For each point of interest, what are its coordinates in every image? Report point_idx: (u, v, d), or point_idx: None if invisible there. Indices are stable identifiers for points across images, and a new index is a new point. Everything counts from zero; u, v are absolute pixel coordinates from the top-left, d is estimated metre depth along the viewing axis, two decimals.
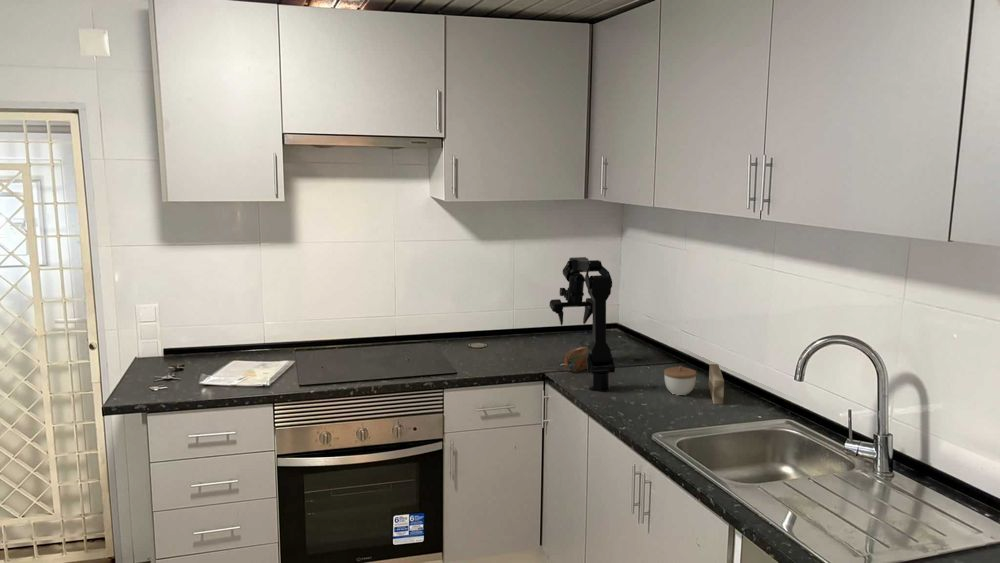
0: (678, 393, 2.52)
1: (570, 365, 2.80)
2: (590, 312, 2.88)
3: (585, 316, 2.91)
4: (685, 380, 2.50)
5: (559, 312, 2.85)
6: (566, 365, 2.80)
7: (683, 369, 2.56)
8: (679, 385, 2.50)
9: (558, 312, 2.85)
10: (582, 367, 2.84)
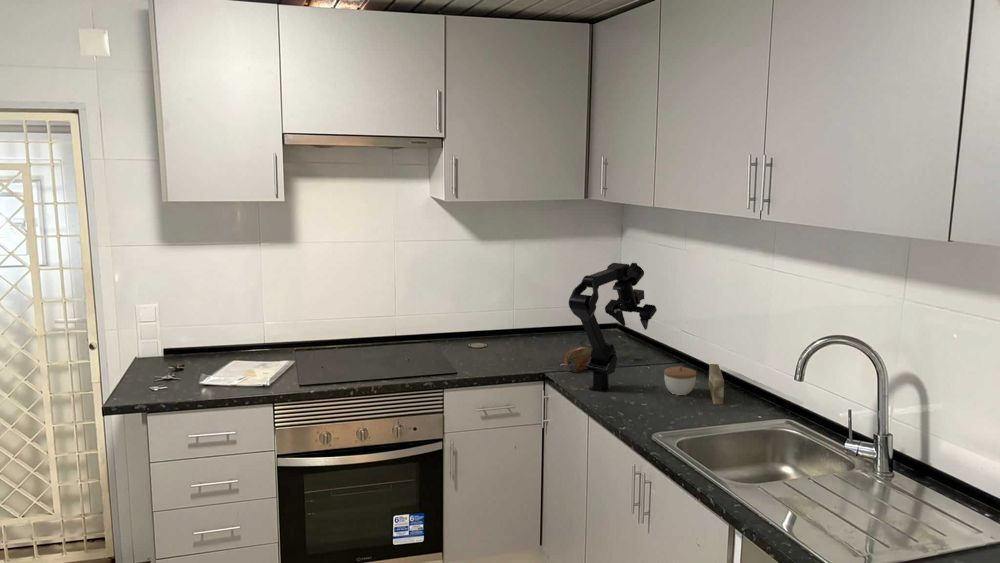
0: (678, 393, 2.52)
1: (570, 365, 2.80)
2: (642, 320, 2.67)
3: None
4: (685, 380, 2.50)
5: (611, 314, 2.75)
6: (566, 365, 2.80)
7: (683, 369, 2.56)
8: (679, 385, 2.50)
9: (610, 314, 2.75)
10: (582, 367, 2.84)
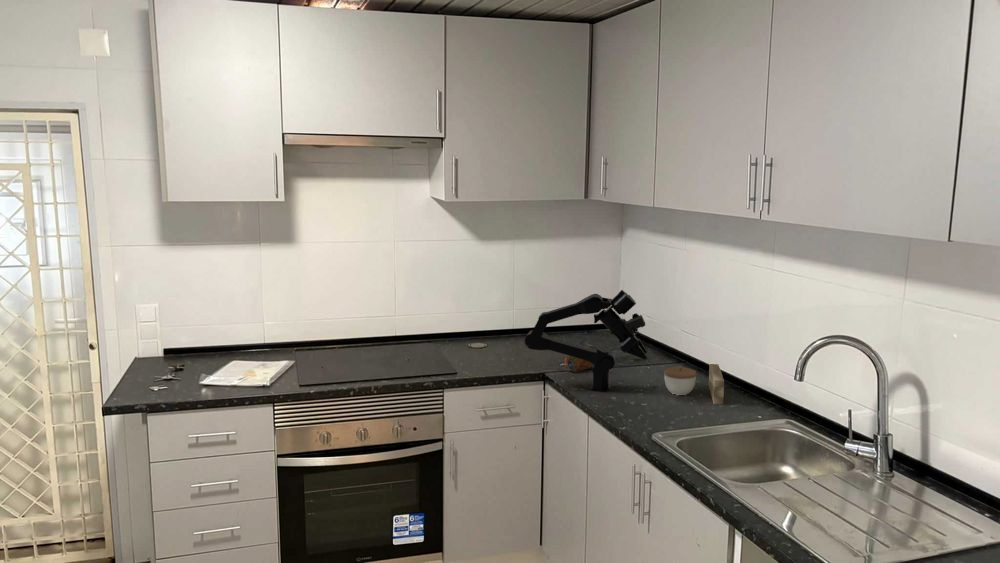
0: (678, 393, 2.52)
1: (570, 365, 2.80)
2: None
3: None
4: (685, 380, 2.50)
5: None
6: (566, 365, 2.80)
7: (683, 369, 2.56)
8: (679, 385, 2.50)
9: None
10: (582, 367, 2.84)
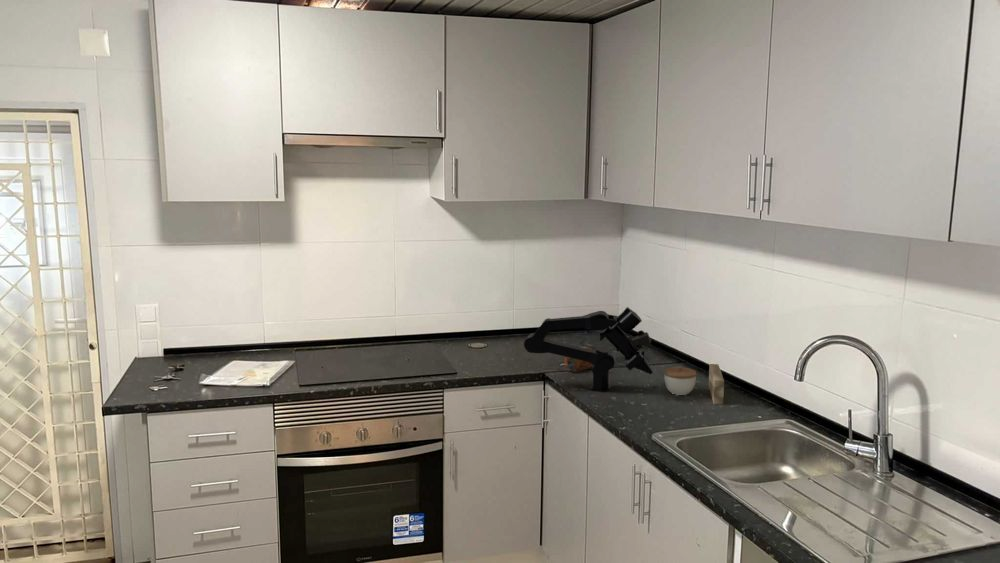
0: (678, 393, 2.52)
1: (570, 365, 2.80)
2: None
3: None
4: (685, 380, 2.50)
5: None
6: (566, 365, 2.80)
7: (683, 369, 2.56)
8: (679, 385, 2.50)
9: None
10: (582, 367, 2.84)
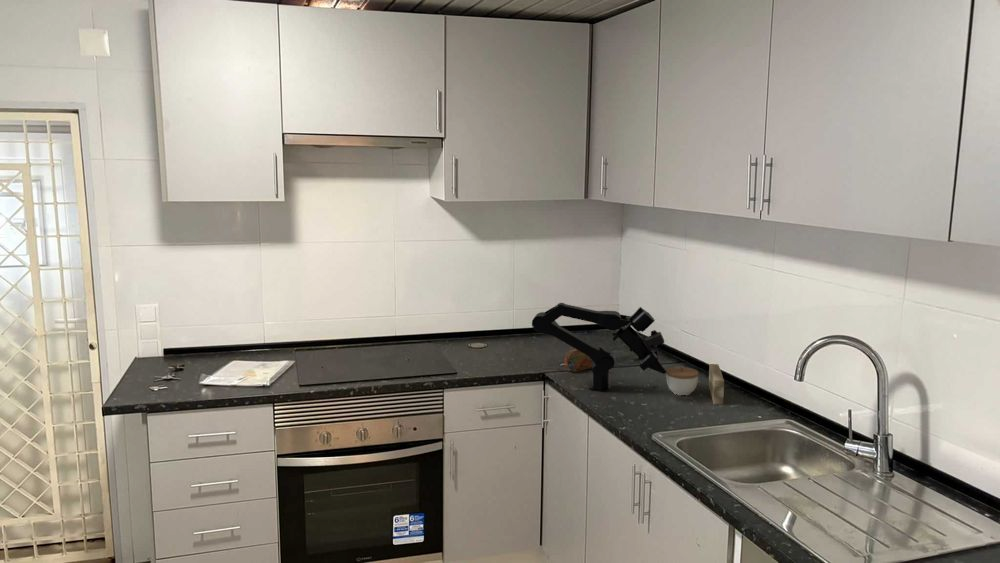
0: (680, 393, 2.52)
1: (570, 365, 2.80)
2: None
3: None
4: (687, 380, 2.50)
5: None
6: (566, 365, 2.80)
7: (686, 369, 2.56)
8: (681, 385, 2.50)
9: None
10: (582, 367, 2.84)
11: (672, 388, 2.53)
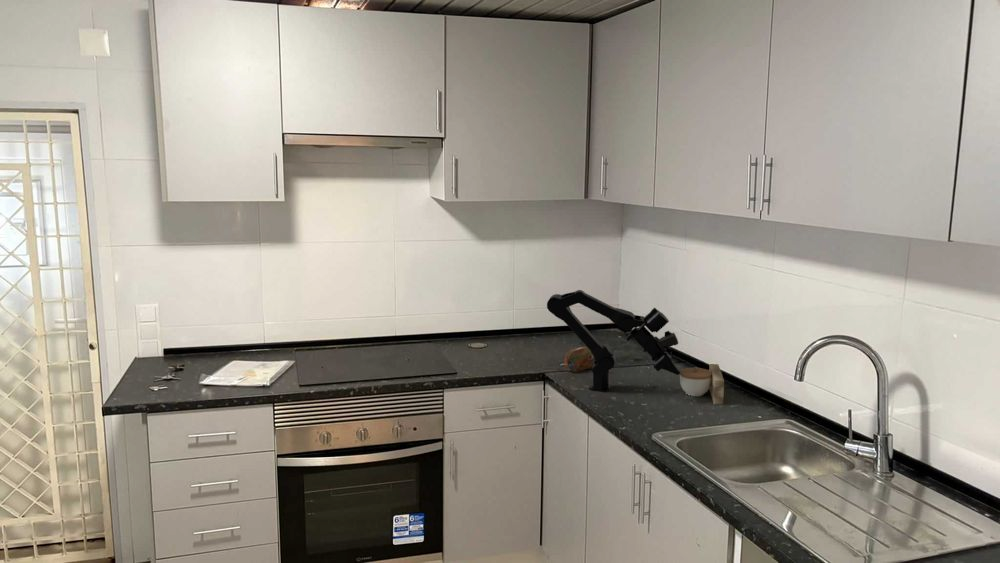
0: (694, 394, 2.51)
1: (570, 365, 2.80)
2: None
3: None
4: (701, 381, 2.49)
5: None
6: (566, 365, 2.80)
7: (699, 370, 2.55)
8: (695, 386, 2.49)
9: None
10: (582, 367, 2.84)
11: (686, 389, 2.52)
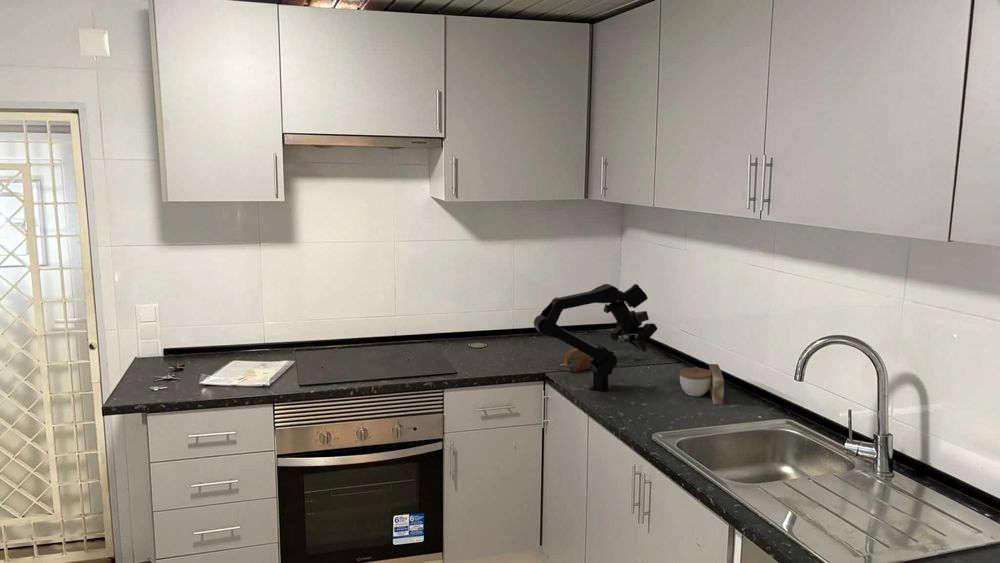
0: (694, 394, 2.51)
1: (570, 365, 2.80)
2: (634, 341, 2.58)
3: None
4: (701, 381, 2.49)
5: (625, 340, 2.61)
6: (566, 365, 2.80)
7: (699, 369, 2.55)
8: (695, 386, 2.49)
9: (625, 340, 2.61)
10: (582, 367, 2.84)
11: (685, 389, 2.52)
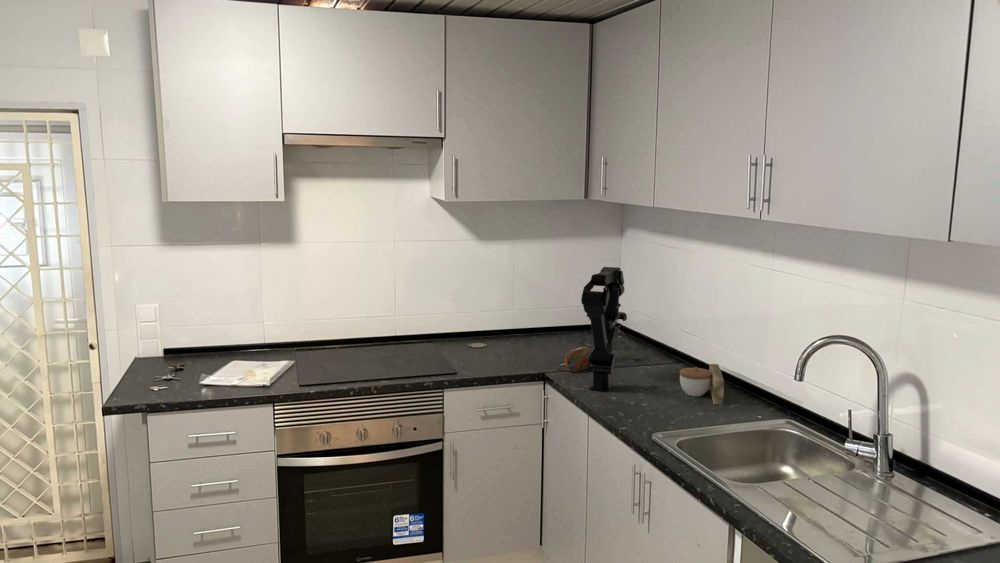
0: (694, 394, 2.51)
1: (570, 365, 2.80)
2: (619, 326, 2.71)
3: None
4: (701, 381, 2.49)
5: (615, 326, 2.67)
6: (566, 365, 2.80)
7: (699, 369, 2.55)
8: (695, 386, 2.49)
9: (615, 327, 2.67)
10: (582, 367, 2.84)
11: (685, 389, 2.52)
